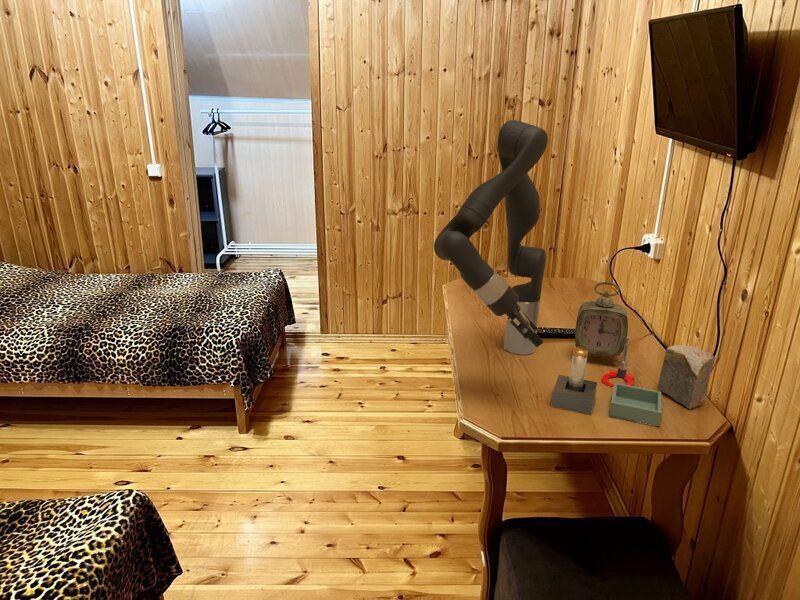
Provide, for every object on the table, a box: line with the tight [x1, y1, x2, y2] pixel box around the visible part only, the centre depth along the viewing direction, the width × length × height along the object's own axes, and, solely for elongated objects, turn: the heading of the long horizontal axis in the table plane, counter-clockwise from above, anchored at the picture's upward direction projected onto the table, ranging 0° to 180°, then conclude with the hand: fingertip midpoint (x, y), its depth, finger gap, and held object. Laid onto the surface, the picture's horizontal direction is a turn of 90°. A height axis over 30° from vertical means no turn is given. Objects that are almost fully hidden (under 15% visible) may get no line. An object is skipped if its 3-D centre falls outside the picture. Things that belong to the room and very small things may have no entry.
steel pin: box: [568, 346, 589, 392], centre depth 149 cm, size 4×4×15 cm
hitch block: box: [550, 374, 598, 416], centre depth 150 cm, size 10×10×4 cm
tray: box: [608, 382, 663, 427], centre depth 147 cm, size 12×12×4 cm
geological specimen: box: [657, 344, 716, 410], centre depth 151 cm, size 11×6×15 cm, turn 24°
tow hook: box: [601, 336, 635, 388], centre depth 160 cm, size 8×13×9 cm
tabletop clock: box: [574, 281, 629, 367], centre depth 172 cm, size 14×9×25 cm, turn 72°
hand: (537, 337), depth 146 cm, fingers open, 8 cm apart
